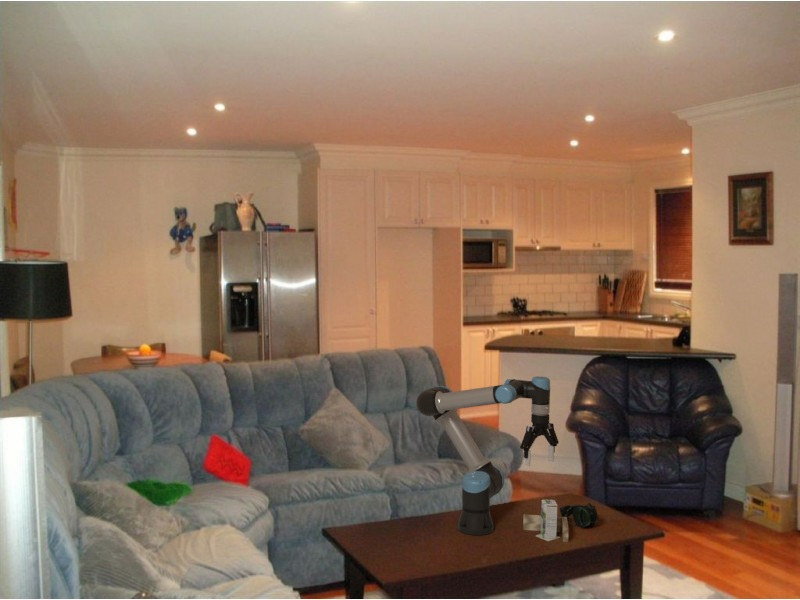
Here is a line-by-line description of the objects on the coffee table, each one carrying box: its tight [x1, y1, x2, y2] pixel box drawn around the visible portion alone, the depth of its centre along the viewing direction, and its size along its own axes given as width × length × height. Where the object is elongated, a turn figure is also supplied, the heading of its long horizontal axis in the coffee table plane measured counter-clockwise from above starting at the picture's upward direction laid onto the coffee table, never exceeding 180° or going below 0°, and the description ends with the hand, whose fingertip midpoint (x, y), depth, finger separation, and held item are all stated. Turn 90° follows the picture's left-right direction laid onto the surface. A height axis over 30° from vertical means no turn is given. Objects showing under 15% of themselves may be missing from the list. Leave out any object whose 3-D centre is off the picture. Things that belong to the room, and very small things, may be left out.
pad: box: [535, 533, 561, 542], centre depth 308 cm, size 7×7×1 cm
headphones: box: [559, 502, 599, 529], centre depth 326 cm, size 13×13×20 cm
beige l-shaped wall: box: [522, 514, 569, 543], centre depth 310 cm, size 18×13×6 cm
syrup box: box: [540, 499, 558, 538], centre depth 308 cm, size 6×6×14 cm
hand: (539, 463), depth 316 cm, fingers open, 13 cm apart
